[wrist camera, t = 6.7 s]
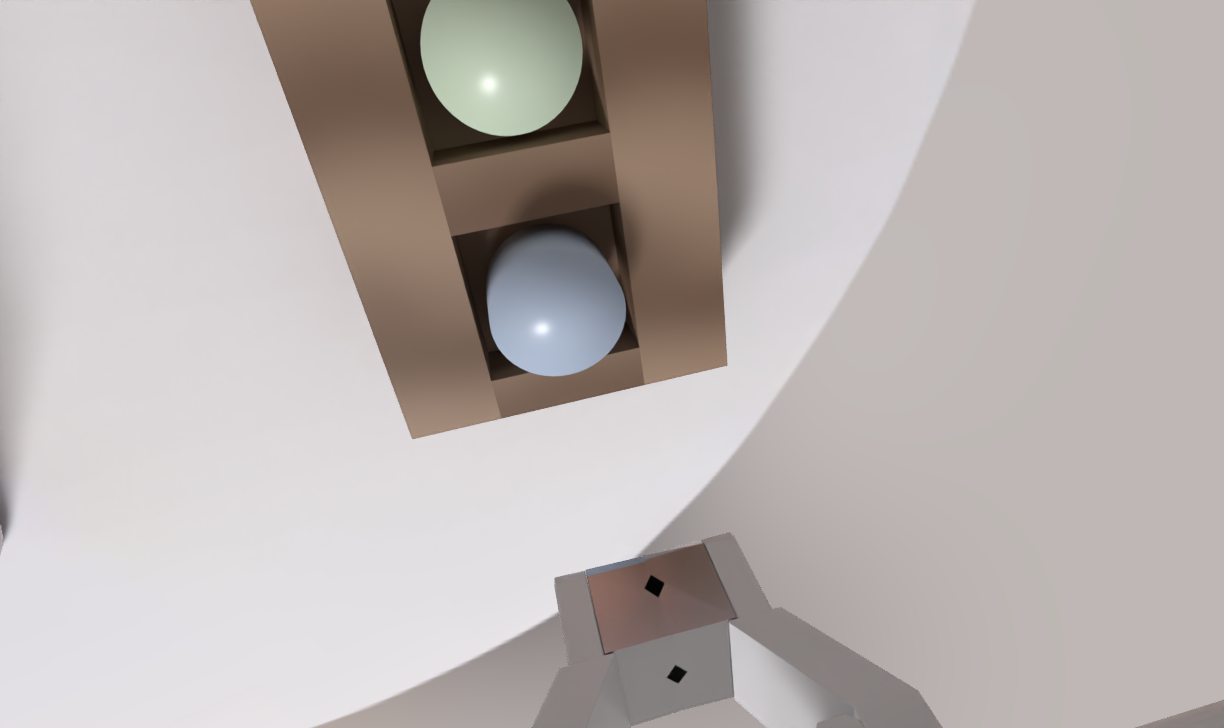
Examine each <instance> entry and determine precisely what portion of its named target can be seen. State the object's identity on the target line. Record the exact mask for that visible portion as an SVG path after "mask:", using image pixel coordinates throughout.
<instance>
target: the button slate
mask: <svg viewBox="0 0 1224 728" xmlns="http://www.w3.org/2000/svg"><path fill="white" fill-rule="evenodd" d="M485 286H486V297H487V306H488V314H489V323H490V329H491V333H492V336H493V339H494V341H495V343H496V345H497V347H498V348H499V350H500V351H501V352H502V354H503V355H504V356H505V357H506V358H507V359H508V360H509V361H511V362H512V363H513V364H514V365H516V366H518V367H519V368H521V369H523V370H526V371H528V372H531V373H534V374H538V375H543V376H564V375H570V374H574V373H577V372H580V371H582V370H585V369H587V368H589V367H591V366H593V365H594V364H596V363H597V362H599V361H600V360H601V359H602V358H604V357H605V356H606V355H607V354H608V353H609V352H610V350H611V349H612V348H613V347H614V345H615V344H616V342H617V341H618V339H619V337H620V335H621V333H622V330H623V327H624V323H625V317H626V303H625V298H624V294H623V291H622V288H621V286H620V284H619V283H618V281H617V279H616V277H615V275H614V273H613V272H612V270H611V268H610V266H609V264H608V263H607V261H606V259H605V257H604V255H603V254H602V252H601V250H600V249H599V247H598V246H597V245H596V243H595V242H594V241H593V240H592V239H591V238H589V237H588V236H587V235H585V234H584V233H582V232H581V231H579V230H577V229H574V228H572V227H569V226H566V225H562V224H553V223H551V224H538V225H533V226H530V227H527V228H524V229H522V230H520V231H518V232H516V233H514V234H513V235H511V236H510V237H509V238H507V239H506V240H505V241H504V242H503V243H502V244H501V245H500V246H499V247H498V249H497V250H496V251H495V253H494V255H493V256H492V258H491V260H490V263H489V265H488V269H487V273H486V280H485Z"/></svg>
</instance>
